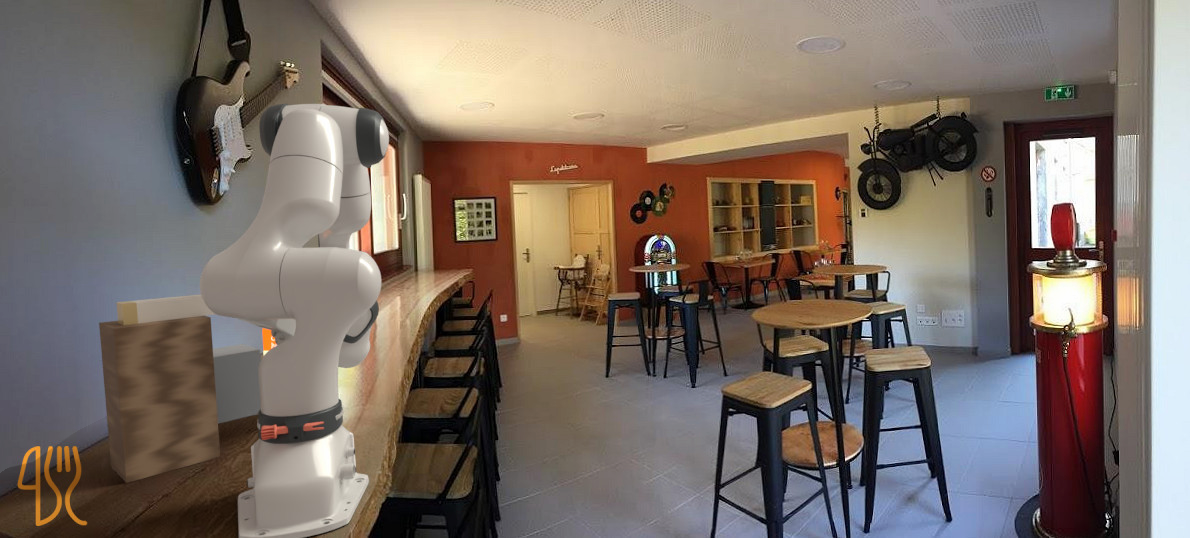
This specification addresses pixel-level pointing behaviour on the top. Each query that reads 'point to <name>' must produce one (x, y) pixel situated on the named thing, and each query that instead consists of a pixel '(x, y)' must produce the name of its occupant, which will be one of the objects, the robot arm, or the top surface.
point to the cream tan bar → (161, 309)
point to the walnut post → (159, 395)
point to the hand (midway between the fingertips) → (229, 302)
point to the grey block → (236, 381)
